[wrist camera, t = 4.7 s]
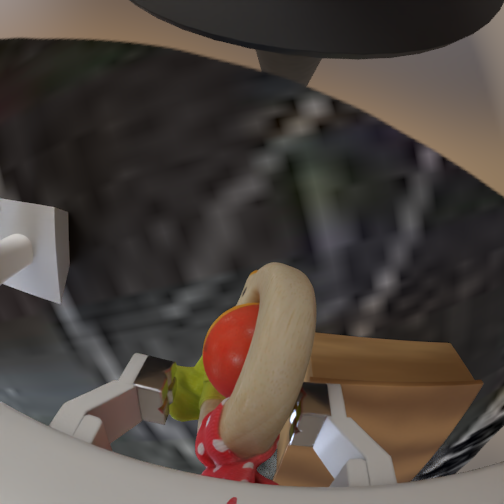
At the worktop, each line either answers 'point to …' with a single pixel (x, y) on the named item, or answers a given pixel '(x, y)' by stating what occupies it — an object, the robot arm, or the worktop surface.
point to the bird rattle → (249, 374)
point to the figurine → (34, 248)
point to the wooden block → (384, 401)
